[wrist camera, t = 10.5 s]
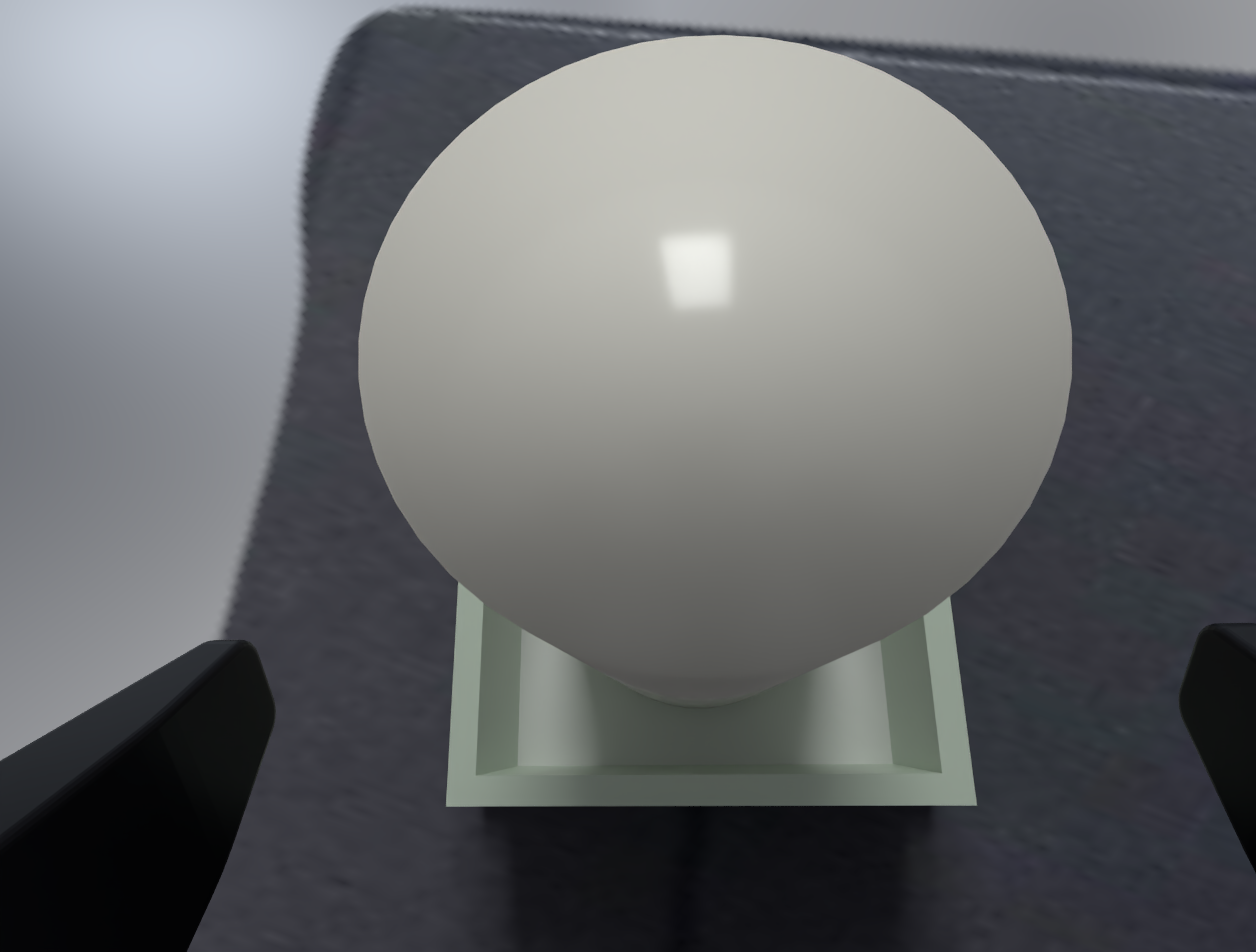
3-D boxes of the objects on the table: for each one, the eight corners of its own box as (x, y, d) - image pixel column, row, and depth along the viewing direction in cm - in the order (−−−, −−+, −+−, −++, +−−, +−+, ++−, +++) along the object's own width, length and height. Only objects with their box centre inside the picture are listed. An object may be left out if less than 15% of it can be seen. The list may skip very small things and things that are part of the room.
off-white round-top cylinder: (731, 762, 17) (821, 854, 5) (526, 611, 18) (218, 407, 6) (867, 549, 18) (1200, 220, 6) (664, 422, 19) (620, -53, 8)
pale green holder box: (931, 785, 18) (1019, 808, 13) (483, 787, 18) (408, 809, 13) (872, 266, 21) (922, 135, 17) (503, 285, 22) (451, 164, 17)
